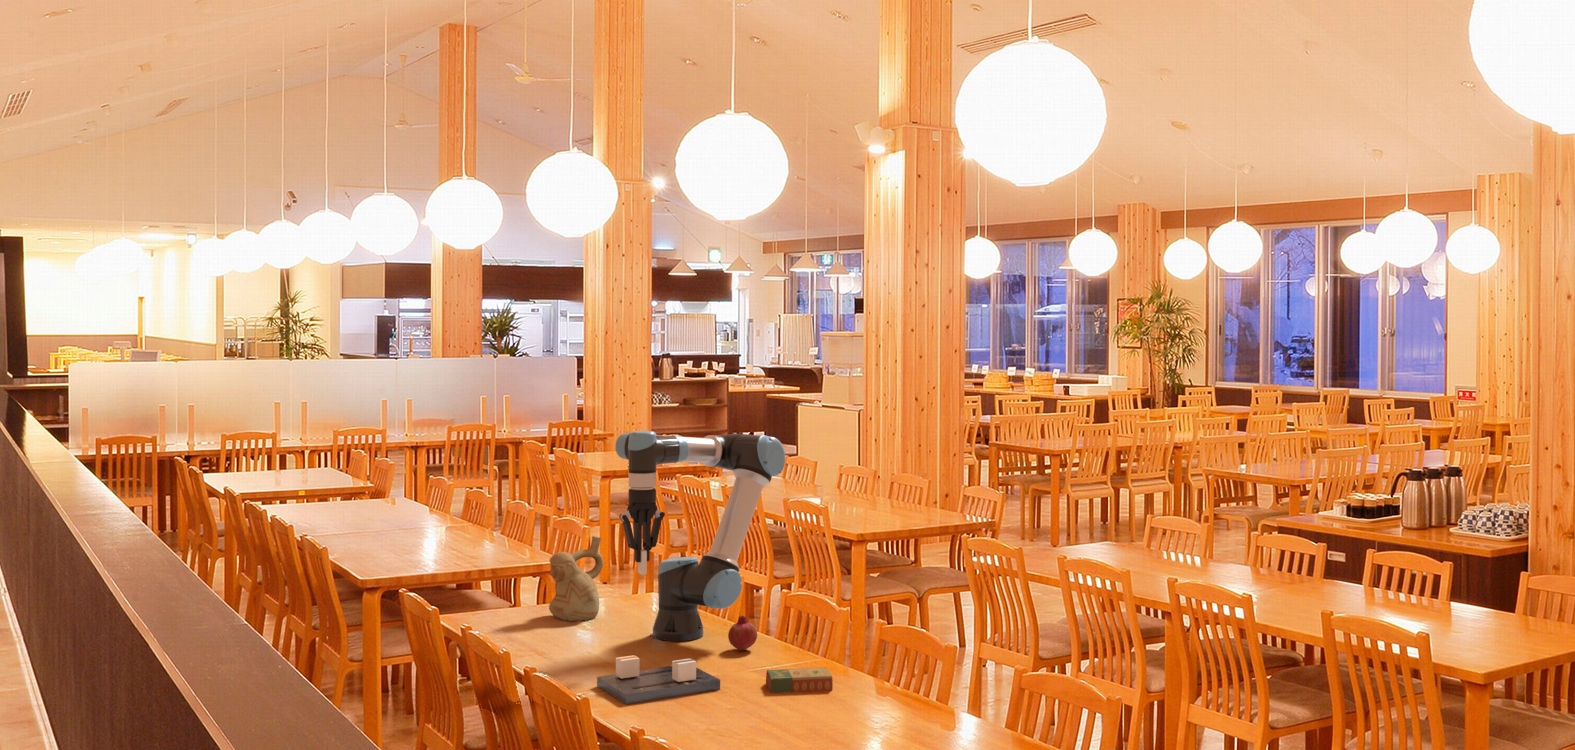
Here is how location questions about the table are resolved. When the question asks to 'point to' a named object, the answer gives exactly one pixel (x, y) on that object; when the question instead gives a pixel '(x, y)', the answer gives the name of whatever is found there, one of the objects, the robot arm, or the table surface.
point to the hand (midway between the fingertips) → (642, 573)
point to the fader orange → (627, 666)
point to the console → (655, 685)
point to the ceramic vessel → (575, 584)
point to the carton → (799, 680)
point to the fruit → (742, 634)
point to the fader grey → (684, 670)
